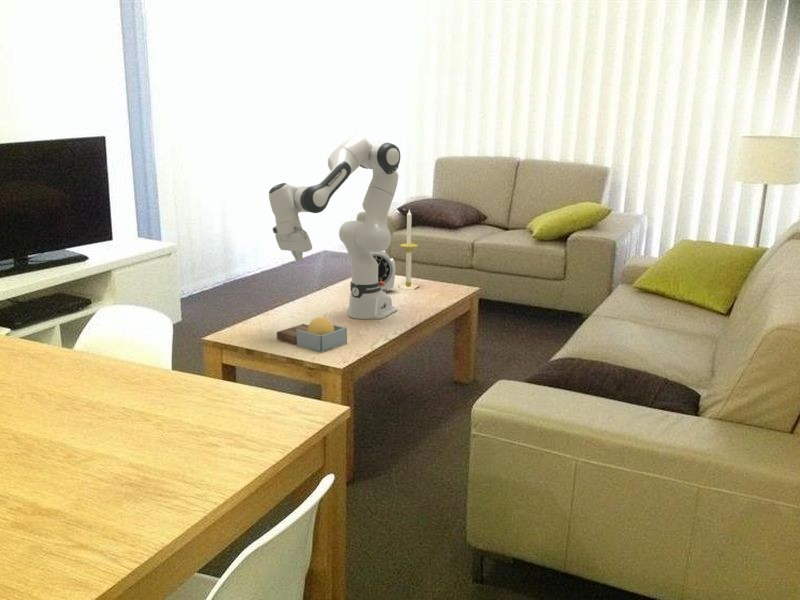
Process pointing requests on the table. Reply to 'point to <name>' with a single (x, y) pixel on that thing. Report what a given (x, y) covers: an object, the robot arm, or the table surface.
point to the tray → (322, 339)
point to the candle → (408, 249)
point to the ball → (320, 326)
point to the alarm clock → (385, 269)
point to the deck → (291, 334)
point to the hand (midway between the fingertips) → (299, 261)
